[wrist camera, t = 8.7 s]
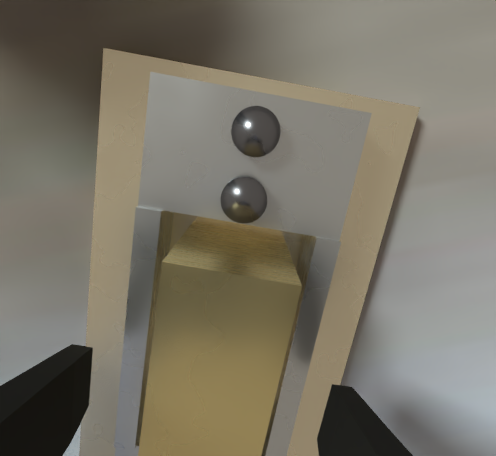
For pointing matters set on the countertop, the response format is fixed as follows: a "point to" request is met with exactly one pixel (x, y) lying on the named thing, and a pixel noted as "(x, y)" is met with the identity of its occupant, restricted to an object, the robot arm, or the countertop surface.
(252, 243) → the yellow block
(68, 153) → the countertop surface
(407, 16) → the countertop surface
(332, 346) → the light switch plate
